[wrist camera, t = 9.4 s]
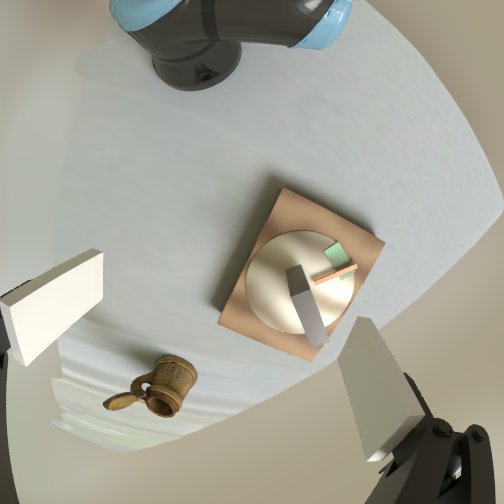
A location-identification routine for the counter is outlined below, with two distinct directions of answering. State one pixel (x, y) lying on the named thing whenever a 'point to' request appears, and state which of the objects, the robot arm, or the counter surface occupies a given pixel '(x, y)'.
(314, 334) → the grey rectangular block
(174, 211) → the counter surface
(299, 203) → the board
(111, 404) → the wooden mug
